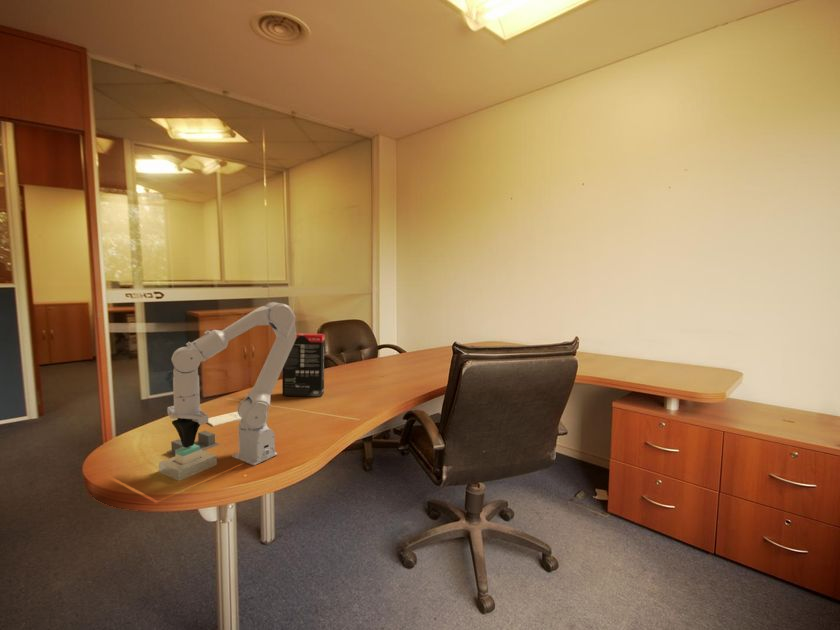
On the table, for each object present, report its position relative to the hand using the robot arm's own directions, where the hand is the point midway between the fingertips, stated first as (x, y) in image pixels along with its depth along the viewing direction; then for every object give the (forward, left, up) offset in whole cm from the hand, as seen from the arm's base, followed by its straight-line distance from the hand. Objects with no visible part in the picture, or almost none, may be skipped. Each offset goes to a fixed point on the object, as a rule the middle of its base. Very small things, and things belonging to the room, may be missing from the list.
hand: (188, 445), depth 100 cm
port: (0, 0, -6) cm, 6 cm away
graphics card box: (+25, -65, -7) cm, 70 cm away
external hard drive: (+25, -28, -7) cm, 38 cm away
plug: (0, 0, -7) cm, 7 cm away
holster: (+11, -8, -6) cm, 15 cm away
